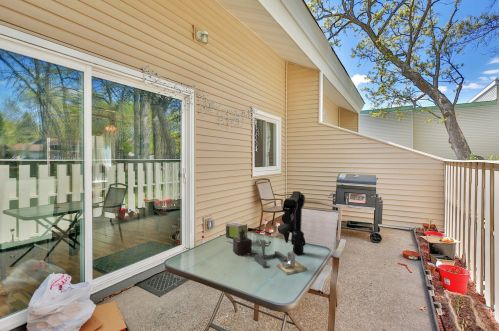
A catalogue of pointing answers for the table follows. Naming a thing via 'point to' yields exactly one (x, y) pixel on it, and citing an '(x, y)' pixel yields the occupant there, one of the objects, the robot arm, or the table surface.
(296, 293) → the table surface
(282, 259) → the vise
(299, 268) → the board
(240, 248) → the potted plant
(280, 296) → the table surface
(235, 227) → the tea box
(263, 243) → the mechanical component
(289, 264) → the brushed metal step block
